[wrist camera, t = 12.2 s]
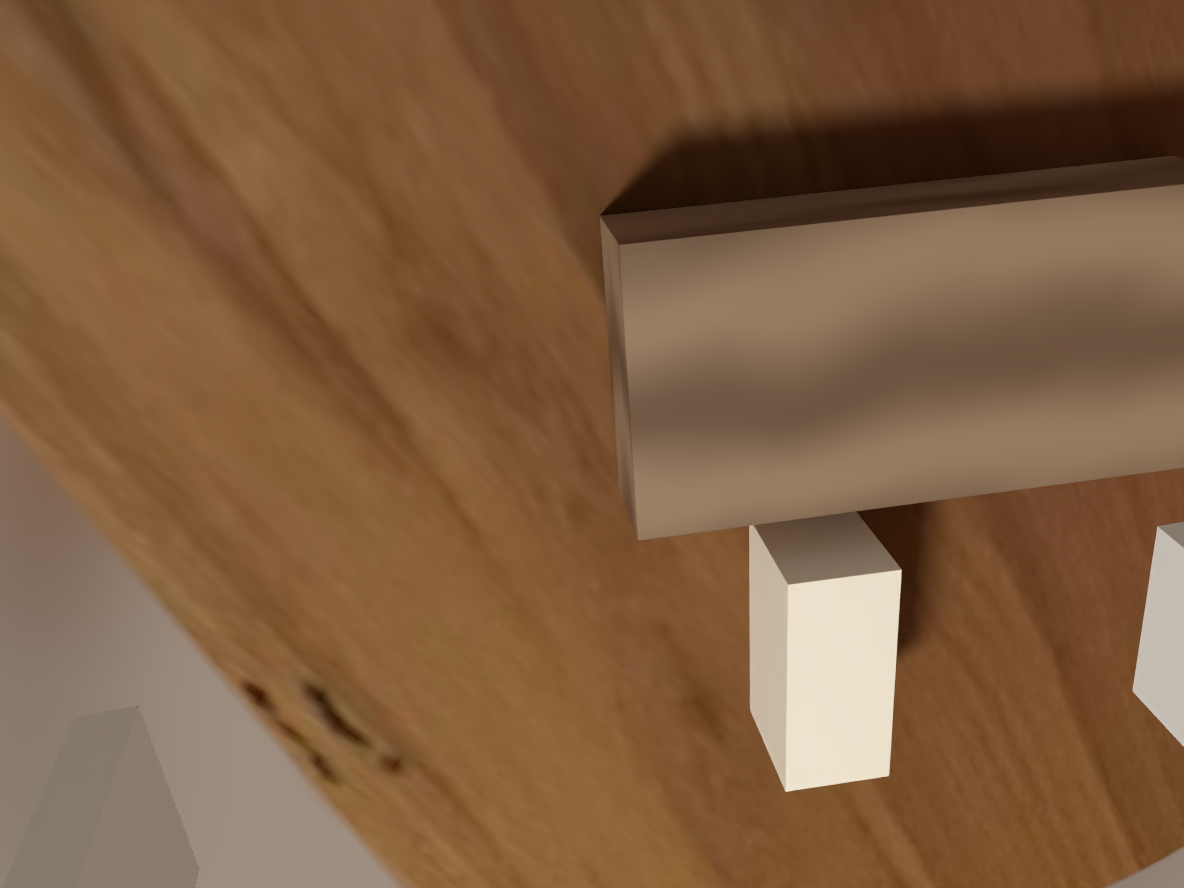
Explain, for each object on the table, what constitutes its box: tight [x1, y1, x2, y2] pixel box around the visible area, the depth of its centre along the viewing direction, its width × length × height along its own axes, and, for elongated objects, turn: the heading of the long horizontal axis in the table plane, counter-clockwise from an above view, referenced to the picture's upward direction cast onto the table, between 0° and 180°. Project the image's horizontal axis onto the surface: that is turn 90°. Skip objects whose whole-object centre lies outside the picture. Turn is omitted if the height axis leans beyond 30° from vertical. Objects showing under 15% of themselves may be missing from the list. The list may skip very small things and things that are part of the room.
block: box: [749, 511, 902, 792], centre depth 41 cm, size 5×4×9 cm
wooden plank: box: [600, 156, 1184, 540], centre depth 37 cm, size 10×20×4 cm, turn 95°
